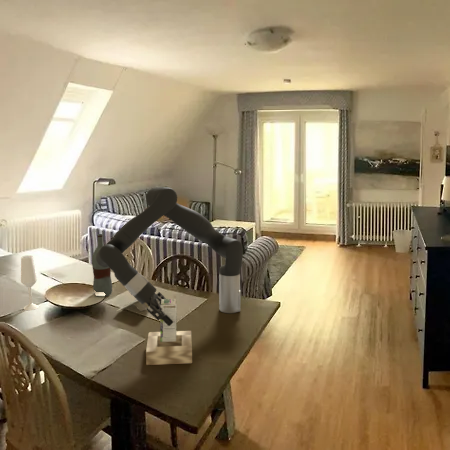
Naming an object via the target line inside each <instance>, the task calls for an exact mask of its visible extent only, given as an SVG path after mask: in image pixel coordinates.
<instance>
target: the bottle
mask: <svg viewBox="0 0 450 450" xmlns="http://www.w3.org/2000/svg"><path fill="white" fill-rule="evenodd" d="M96 235H97V246H96V248H95V250H94V251H93V253H92V256H91V266H92V273H93V281H92V282H93V283H92V284H93V285H92V288H93V291H94V290H95V291H96V292H104V293H105V294H106V295H105V297H109V296H111V295H112V292H113V281H112V275H111V273H112V272H111V271H112V270H111V269H110V267H102V266H100V265H99V264H98V263H97V261H96V255H97V253H98V251H99V250H100V248H101V247H102V246H104V236H103V233H102V234H101V233H100V234H99V233H98V234H96Z"/></svg>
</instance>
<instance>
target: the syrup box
mask: <svg viewBox="0 0 450 450" xmlns="http://www.w3.org/2000/svg"><path fill="white" fill-rule="evenodd" d="M177 302H178V300H177V299H176V298H166V299H162V300H161V305H160V307H161V308H162V311H164V312H165V314H166V315H167V316H168V317H169V318H170V319H171V320H172V321H173V323H172V324H171V325H170V326H168V325H167V324H166V323H165V322H164V321H163V320H162V319H159V320H160V321H159V323H160V324H159V325H160V326H159V327H160V329H159V332H160V342H175V341H176V331H177V320H178V319H177V315H178V313H177V312H178V311H177V309H178V307H177V306H178V304H177ZM160 312H161V311H160Z"/></svg>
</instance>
